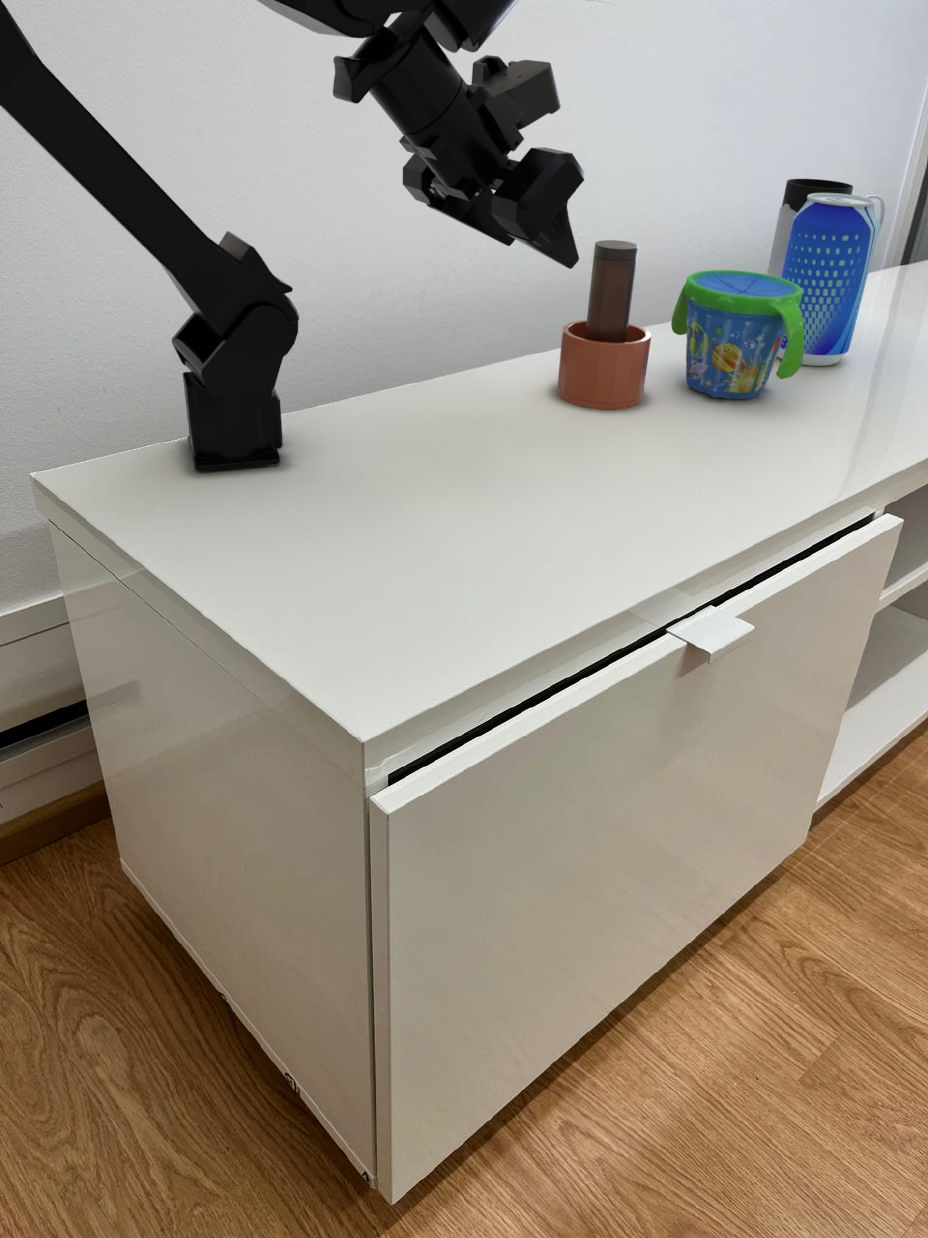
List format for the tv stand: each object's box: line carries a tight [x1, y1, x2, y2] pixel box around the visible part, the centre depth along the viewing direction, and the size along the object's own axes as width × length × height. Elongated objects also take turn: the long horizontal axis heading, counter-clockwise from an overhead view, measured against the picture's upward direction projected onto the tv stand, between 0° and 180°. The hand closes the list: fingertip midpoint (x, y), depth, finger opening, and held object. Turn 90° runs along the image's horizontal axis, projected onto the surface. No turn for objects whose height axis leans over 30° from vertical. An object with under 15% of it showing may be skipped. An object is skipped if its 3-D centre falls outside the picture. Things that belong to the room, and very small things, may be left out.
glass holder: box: [766, 178, 887, 278], centre depth 119 cm, size 9×14×15 cm, turn 106°
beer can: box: [777, 193, 879, 367], centre depth 102 cm, size 8×8×16 cm
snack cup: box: [670, 269, 804, 400], centre depth 93 cm, size 16×10×10 cm
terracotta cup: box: [556, 319, 652, 410], centre depth 91 cm, size 8×8×6 cm
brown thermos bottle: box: [585, 239, 639, 343], centre depth 89 cm, size 4×4×13 cm
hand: (542, 252), depth 82 cm, fingers open, 9 cm apart
